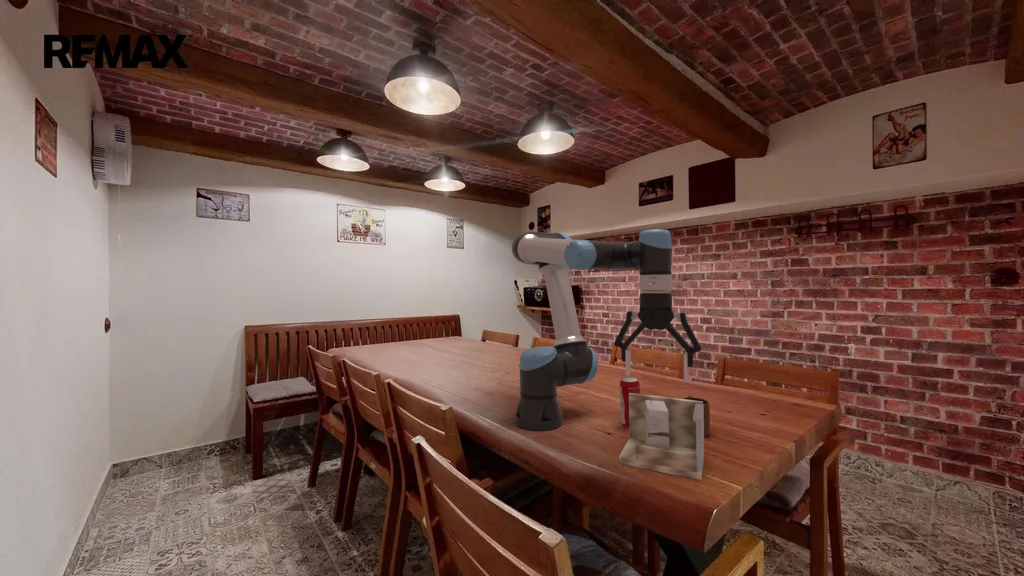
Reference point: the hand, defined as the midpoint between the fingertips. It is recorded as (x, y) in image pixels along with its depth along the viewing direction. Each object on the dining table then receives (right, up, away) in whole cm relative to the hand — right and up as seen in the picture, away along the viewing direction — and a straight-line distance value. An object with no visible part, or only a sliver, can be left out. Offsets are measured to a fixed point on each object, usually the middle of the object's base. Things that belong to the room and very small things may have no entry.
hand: (656, 377), depth 95 cm
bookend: (+8, -19, -5) cm, 21 cm away
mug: (+18, -20, +18) cm, 32 cm away
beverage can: (0, -20, +20) cm, 29 cm away
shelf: (+1, -20, -1) cm, 20 cm away
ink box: (0, -19, 0) cm, 19 cm away
